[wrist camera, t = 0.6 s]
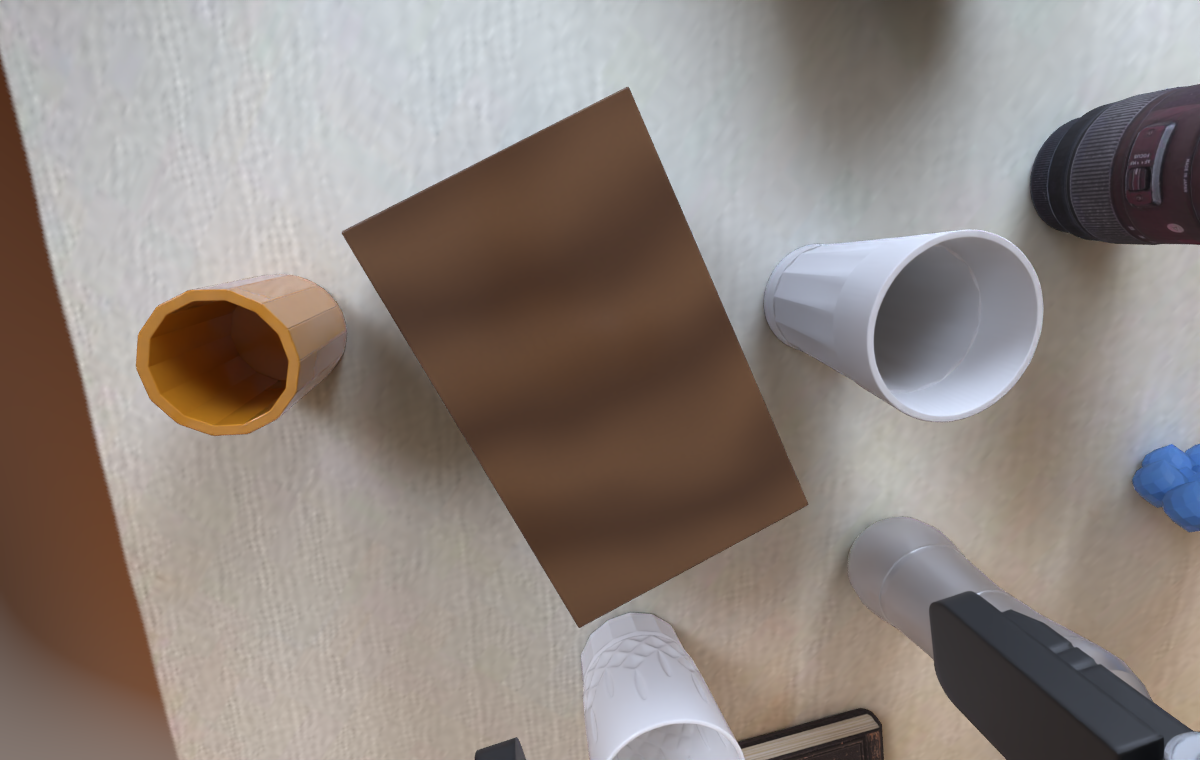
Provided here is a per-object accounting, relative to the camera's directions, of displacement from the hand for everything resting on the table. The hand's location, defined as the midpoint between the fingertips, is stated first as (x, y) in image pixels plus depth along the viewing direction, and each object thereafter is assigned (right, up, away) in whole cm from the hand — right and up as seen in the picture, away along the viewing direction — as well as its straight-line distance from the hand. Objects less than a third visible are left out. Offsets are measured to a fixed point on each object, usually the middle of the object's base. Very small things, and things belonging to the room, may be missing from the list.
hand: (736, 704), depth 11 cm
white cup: (0, -12, +30) cm, 32 cm away
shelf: (-4, +9, +24) cm, 26 cm away
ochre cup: (-19, +9, +21) cm, 30 cm away
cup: (+10, +11, +26) cm, 30 cm away
